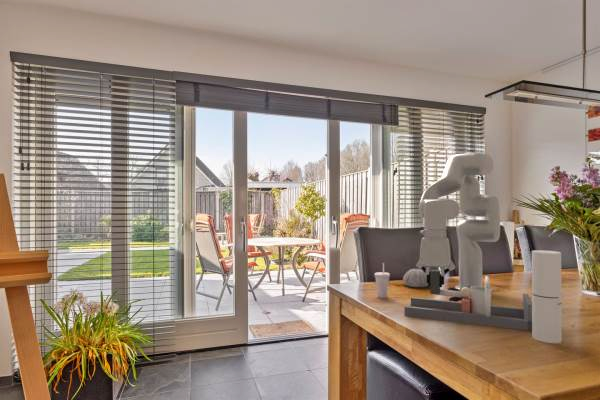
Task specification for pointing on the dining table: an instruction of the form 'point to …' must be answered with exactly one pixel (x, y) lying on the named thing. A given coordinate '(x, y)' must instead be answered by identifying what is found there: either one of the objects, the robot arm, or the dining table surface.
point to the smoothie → (382, 283)
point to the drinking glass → (478, 300)
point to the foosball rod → (464, 292)
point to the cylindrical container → (546, 296)
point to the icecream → (456, 297)
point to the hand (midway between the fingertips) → (435, 285)
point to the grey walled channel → (471, 317)
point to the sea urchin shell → (415, 278)
